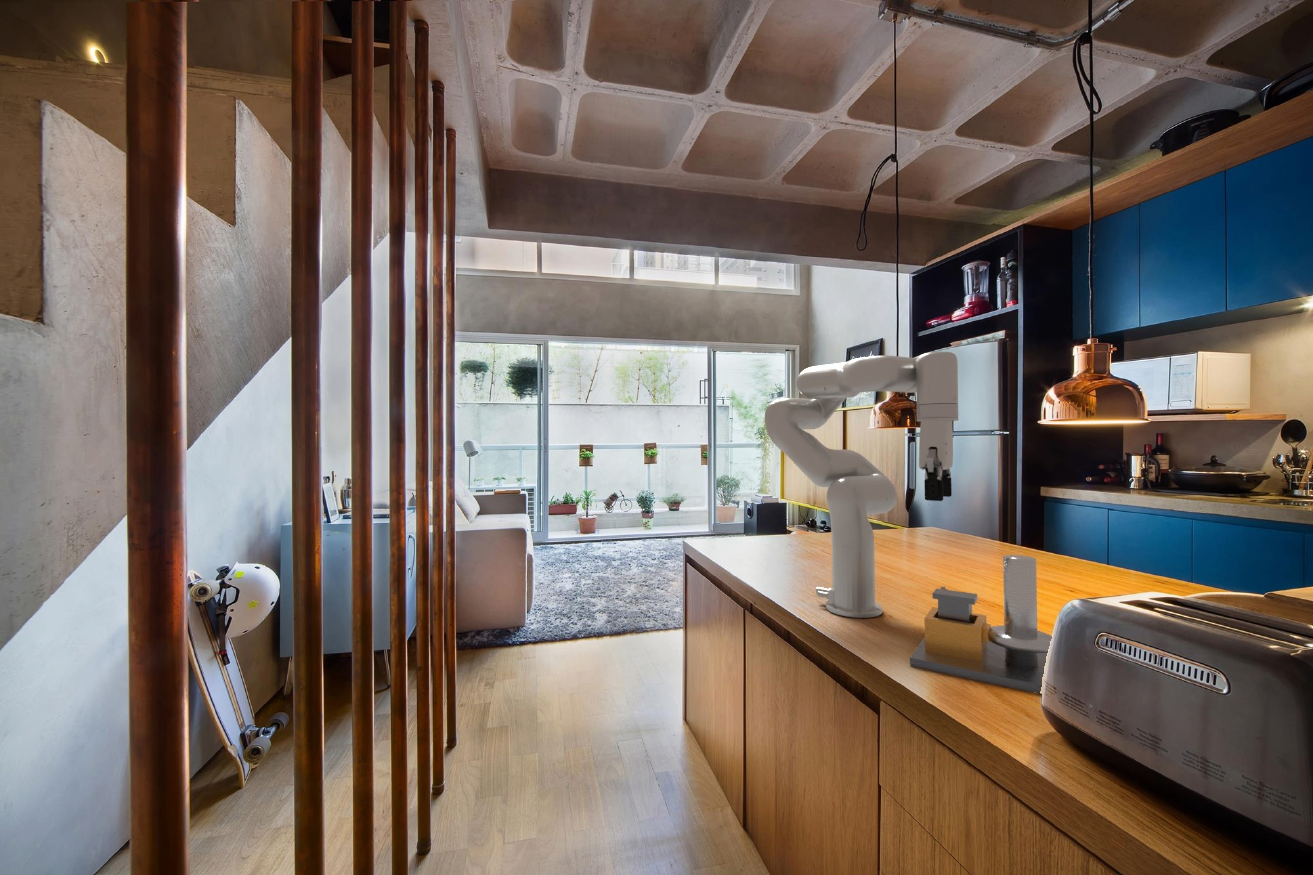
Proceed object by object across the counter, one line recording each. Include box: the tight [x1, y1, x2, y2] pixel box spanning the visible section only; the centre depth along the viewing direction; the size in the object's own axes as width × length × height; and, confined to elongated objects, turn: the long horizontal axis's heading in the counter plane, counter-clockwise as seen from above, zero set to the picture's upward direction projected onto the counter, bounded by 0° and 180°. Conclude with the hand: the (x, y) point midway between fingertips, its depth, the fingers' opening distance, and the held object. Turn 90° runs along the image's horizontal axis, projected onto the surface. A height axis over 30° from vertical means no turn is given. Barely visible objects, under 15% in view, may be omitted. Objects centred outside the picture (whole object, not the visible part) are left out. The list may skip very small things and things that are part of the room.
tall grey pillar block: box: [931, 588, 978, 624], centre depth 101 cm, size 7×4×10 cm, turn 53°
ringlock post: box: [909, 554, 1053, 695], centre depth 98 cm, size 21×18×20 cm
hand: (938, 498), depth 111 cm, fingers open, 9 cm apart
